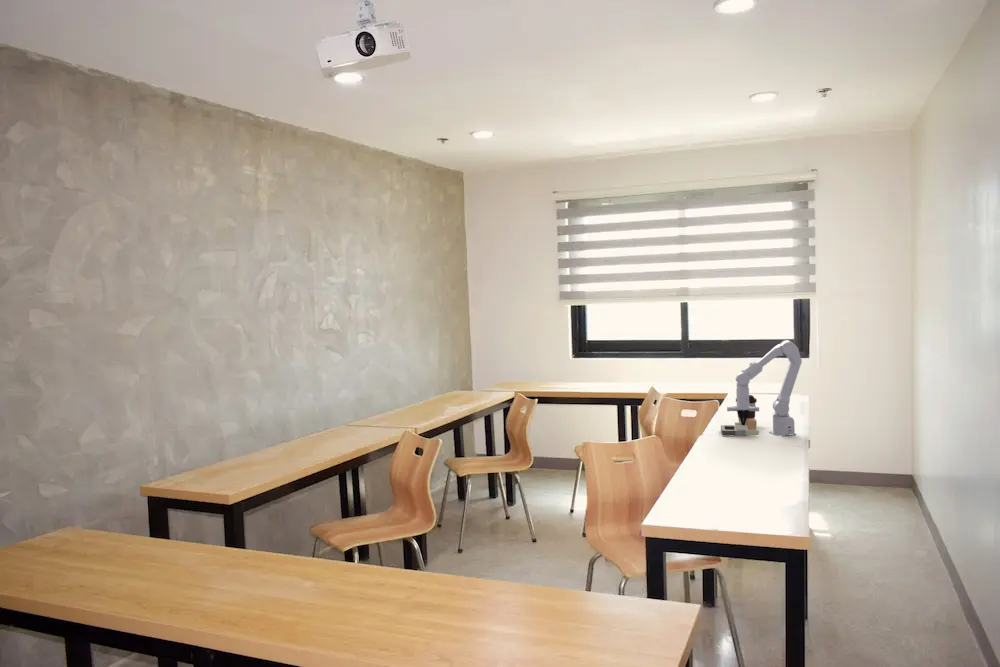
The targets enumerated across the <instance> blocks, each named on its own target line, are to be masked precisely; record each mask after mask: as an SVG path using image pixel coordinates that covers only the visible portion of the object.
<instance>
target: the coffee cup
mask: <svg viewBox="0 0 1000 667" xmlns="http://www.w3.org/2000/svg"><path fill="white" fill-rule="evenodd" d="M757 401H758V400H757V398H755V397H754V395H752V394H749V406H751V407H757V406H756V403H757ZM735 402H736V403H737V397H736V398H735ZM737 417H738V418H737V419H738V422H741V420H740V417H739V415H738V414H737ZM747 419H756V411H749V415H748V417H747ZM747 419H746V425H747Z"/></svg>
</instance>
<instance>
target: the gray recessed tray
mask: <svg viewBox="0 0 1000 667" xmlns="http://www.w3.org/2000/svg"><path fill="white" fill-rule="evenodd" d="M720 432H721V435H734V436H733V437H747V436H746V433H745V430H736V427H735V424H732V425H731V424H727V425H726V424H720ZM735 435H736V436H735Z"/></svg>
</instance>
